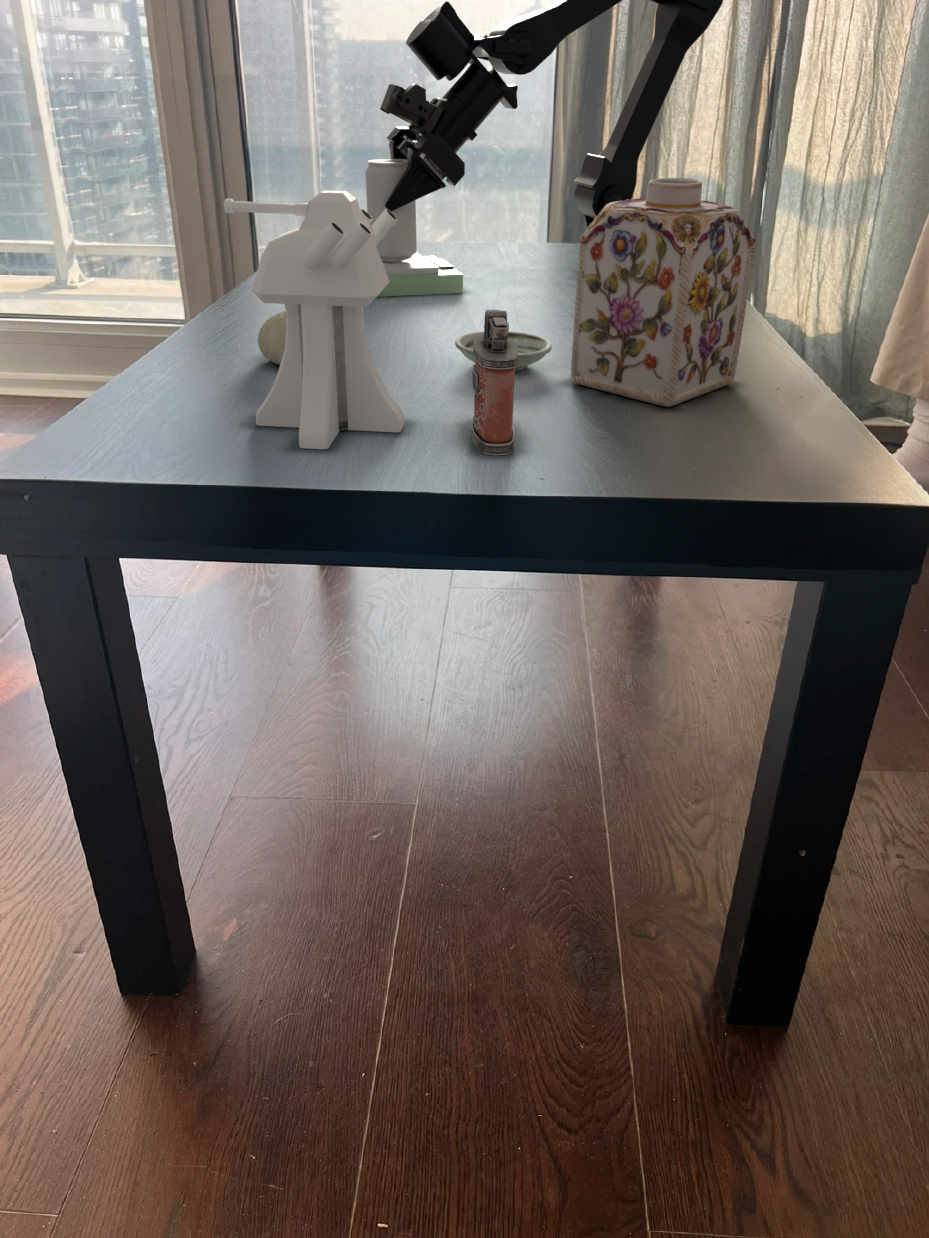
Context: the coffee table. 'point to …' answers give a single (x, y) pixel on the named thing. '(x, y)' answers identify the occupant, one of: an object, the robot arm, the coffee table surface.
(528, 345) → the saucer
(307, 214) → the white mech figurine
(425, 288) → the scale
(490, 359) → the lighter
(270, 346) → the sea urchin shell
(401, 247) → the beverage can
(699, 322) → the decorative jar
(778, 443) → the coffee table surface
